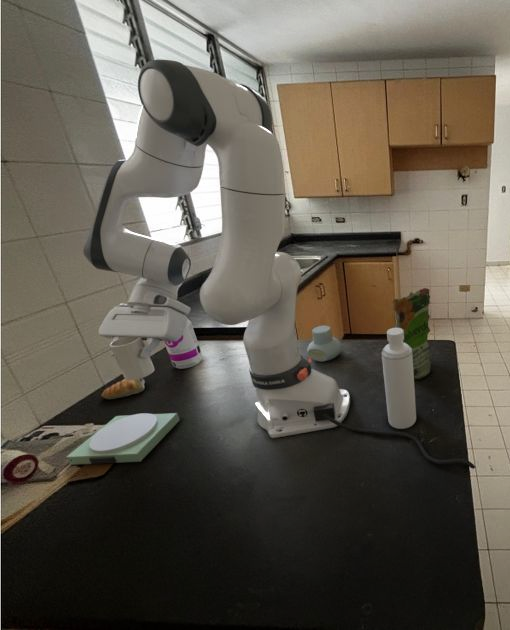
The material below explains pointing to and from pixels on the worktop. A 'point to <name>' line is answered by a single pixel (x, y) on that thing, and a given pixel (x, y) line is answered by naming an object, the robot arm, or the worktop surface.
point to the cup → (131, 358)
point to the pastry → (124, 389)
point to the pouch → (415, 328)
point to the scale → (124, 439)
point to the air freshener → (323, 344)
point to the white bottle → (399, 380)
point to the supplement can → (185, 349)
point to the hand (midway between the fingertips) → (129, 357)
